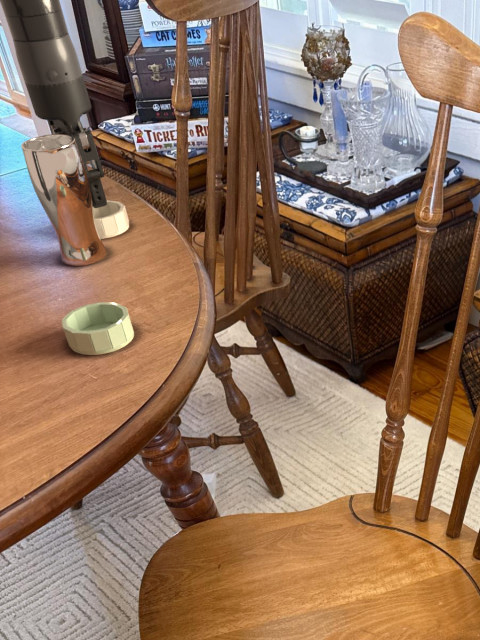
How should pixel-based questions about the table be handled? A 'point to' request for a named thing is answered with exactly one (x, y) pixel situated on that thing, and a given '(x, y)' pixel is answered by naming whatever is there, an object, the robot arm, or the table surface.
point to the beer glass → (65, 196)
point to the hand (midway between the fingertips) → (90, 198)
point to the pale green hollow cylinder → (98, 328)
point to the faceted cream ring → (111, 219)
